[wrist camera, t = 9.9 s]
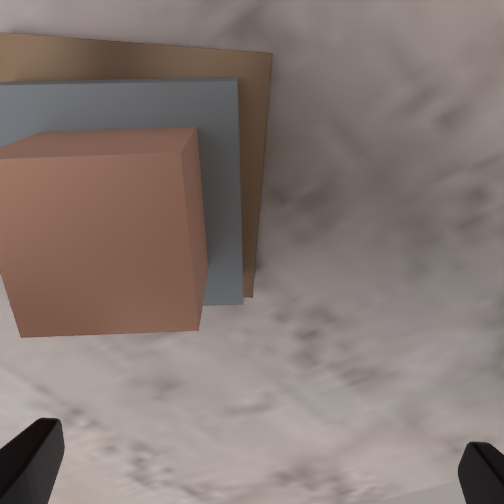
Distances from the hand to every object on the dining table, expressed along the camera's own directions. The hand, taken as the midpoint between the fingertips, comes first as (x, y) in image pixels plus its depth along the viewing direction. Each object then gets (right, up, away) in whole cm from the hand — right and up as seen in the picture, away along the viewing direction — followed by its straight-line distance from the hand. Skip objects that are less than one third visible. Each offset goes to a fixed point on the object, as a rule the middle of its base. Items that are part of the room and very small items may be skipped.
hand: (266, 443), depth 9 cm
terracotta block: (-4, +6, +5) cm, 9 cm away
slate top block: (-5, +7, +7) cm, 11 cm away
